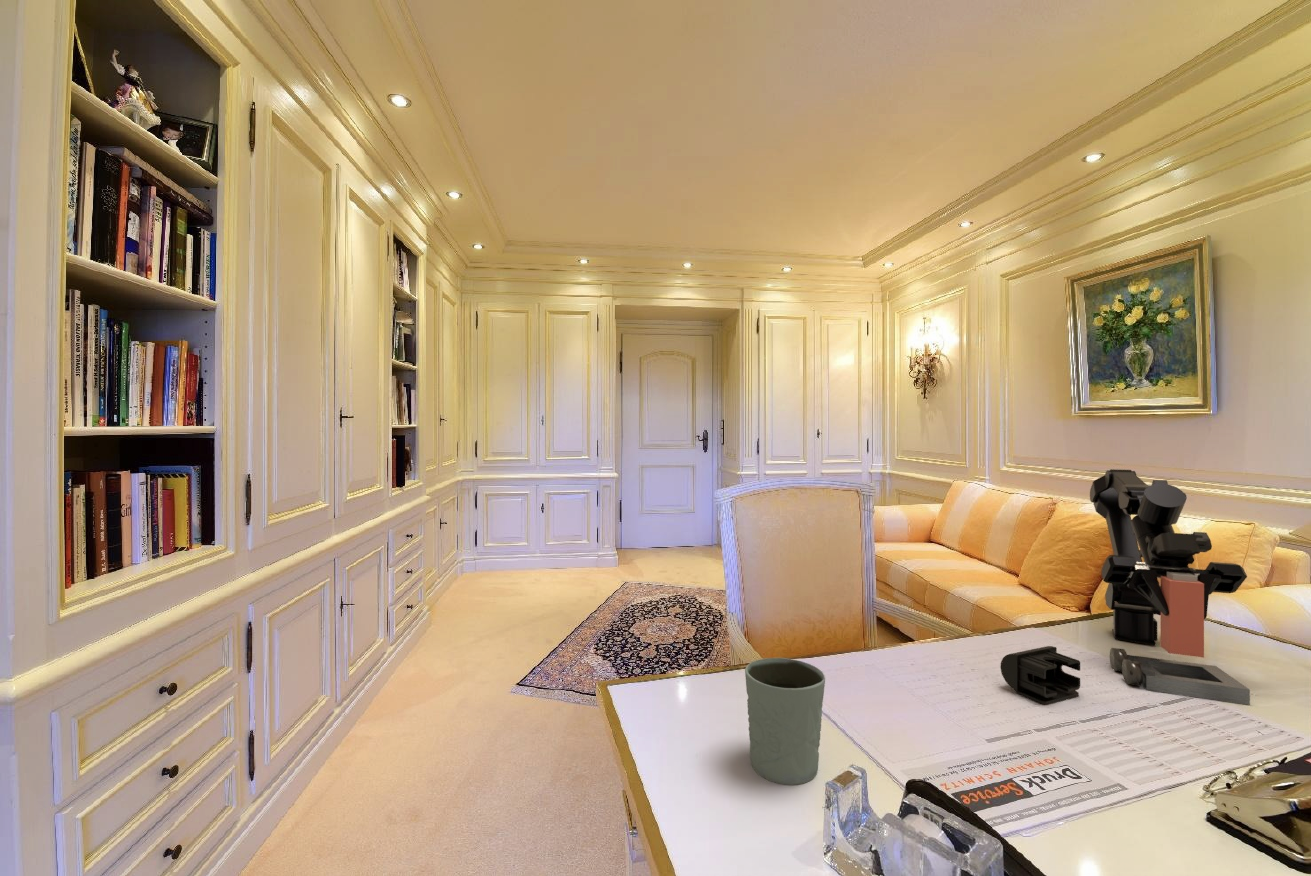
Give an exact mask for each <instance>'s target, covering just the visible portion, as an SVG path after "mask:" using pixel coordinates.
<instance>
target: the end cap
mask: <svg viewBox="0 0 1311 876" xmlns="http://www.w3.org/2000/svg"><path fill="white" fill-rule="evenodd" d="M999 666H1000V672H1001V676H1002V678H1003V679H1004V681H1005V683H1006V684H1007V686H1009V687H1010V688H1011V689H1012V690H1013V691H1014V692H1015V693H1016V694H1017V695H1019V696H1021V697H1023V698H1025V699H1028V700H1030V701H1032V702H1034V703H1037V704H1039V705H1042V706H1048V705H1052V704H1056V703H1059V702H1063V701H1067V700H1066V699H1068V700H1070V699H1074V698H1078V697H1080V695H1079V691H1078V690H1079V689H1080V687H1081V677H1079V676H1075V675H1072V674H1070V673H1067V672H1065V671H1064V670H1063V668H1062V667H1063V666H1065V667H1067V668H1070V669H1073V670H1075V671H1078V672H1079V671H1081V661H1080V660H1079V659H1076V658H1073V657H1071V656H1067V655H1064V654H1062V653H1058V652H1057V647H1056V646H1053V645H1046V646H1043V647H1037V648H1033V649H1032V648H1031V649H1026V650H1022V651H1018V652H1013V653H1009V654H1006V655H1004V657H1002V659H1001V662H1000V665H999Z"/></svg>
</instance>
